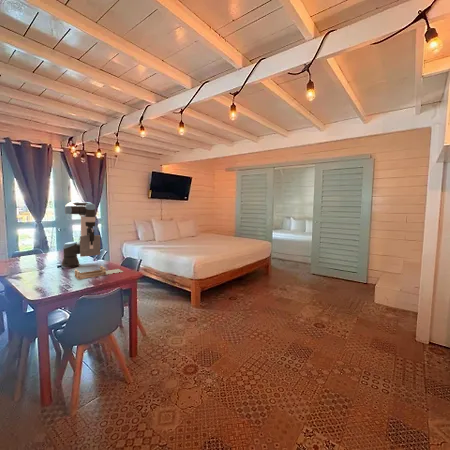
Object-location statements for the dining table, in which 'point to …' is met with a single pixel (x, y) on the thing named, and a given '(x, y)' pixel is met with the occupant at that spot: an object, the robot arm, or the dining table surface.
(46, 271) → the dining table surface
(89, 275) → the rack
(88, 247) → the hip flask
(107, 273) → the mat
